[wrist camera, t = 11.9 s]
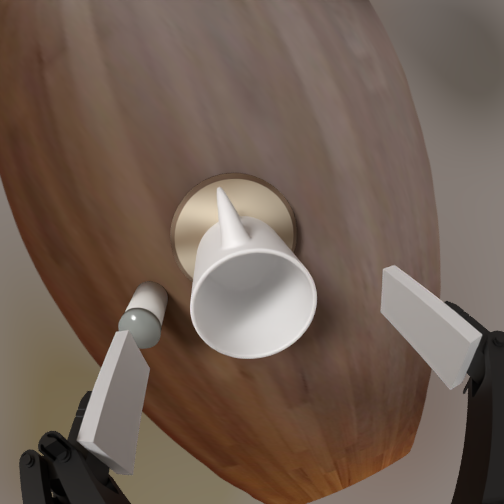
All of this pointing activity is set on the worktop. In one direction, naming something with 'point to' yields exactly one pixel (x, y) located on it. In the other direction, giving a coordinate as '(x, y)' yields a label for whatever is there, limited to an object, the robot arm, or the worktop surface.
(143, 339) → the spice jar
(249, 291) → the mug
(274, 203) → the beige flat disc
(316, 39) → the worktop surface
